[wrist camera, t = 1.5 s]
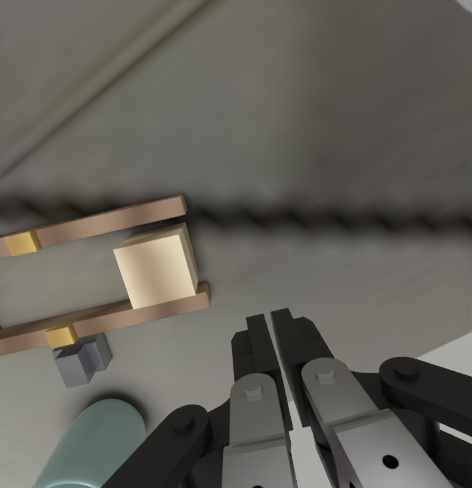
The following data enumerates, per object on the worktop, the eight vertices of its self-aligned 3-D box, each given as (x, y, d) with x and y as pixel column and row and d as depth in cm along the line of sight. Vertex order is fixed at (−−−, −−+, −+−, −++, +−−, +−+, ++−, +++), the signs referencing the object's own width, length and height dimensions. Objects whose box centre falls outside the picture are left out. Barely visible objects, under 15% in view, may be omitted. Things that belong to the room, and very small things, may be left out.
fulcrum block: (102, 330, 31) (88, 351, 27) (112, 357, 31) (99, 380, 28) (62, 340, 31) (43, 362, 27) (73, 366, 31) (55, 390, 28)
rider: (185, 222, 28) (178, 234, 24) (199, 273, 30) (195, 295, 25) (130, 234, 28) (113, 249, 24) (147, 285, 30) (133, 309, 25)
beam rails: (183, 192, 28) (179, 196, 25) (210, 296, 30) (210, 311, 27) (-55, 248, 28) (-90, 259, 25) (-8, 346, 30) (-34, 368, 27)
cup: (120, 459, 35) (83, 574, 25) (61, 420, 33) (-4, 527, 23) (168, 415, 34) (148, 517, 24) (109, 372, 32) (62, 463, 22)
